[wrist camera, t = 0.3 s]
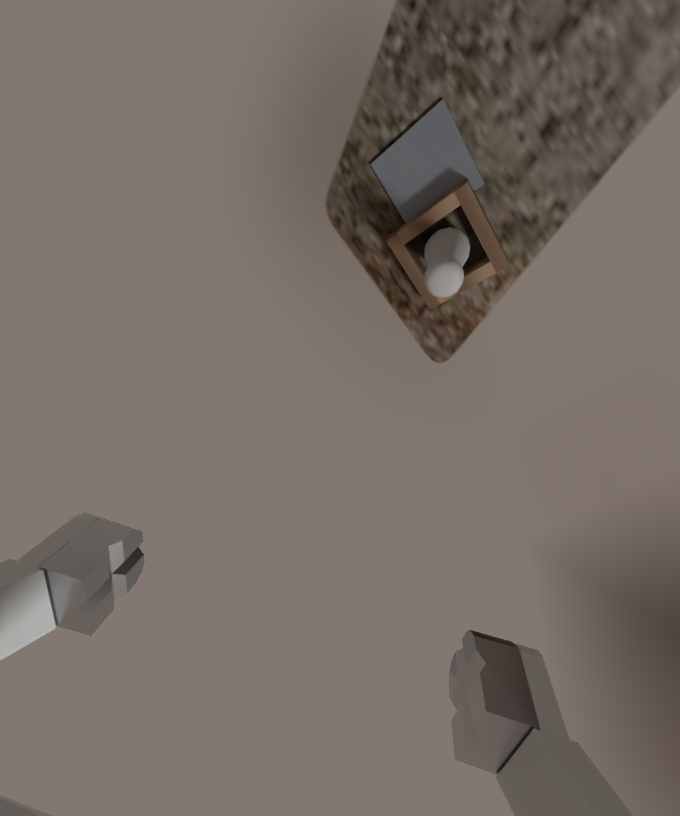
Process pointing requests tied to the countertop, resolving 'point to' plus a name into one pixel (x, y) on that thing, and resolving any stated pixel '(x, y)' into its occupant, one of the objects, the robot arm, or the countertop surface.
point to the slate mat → (426, 163)
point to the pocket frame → (431, 215)
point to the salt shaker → (445, 261)
